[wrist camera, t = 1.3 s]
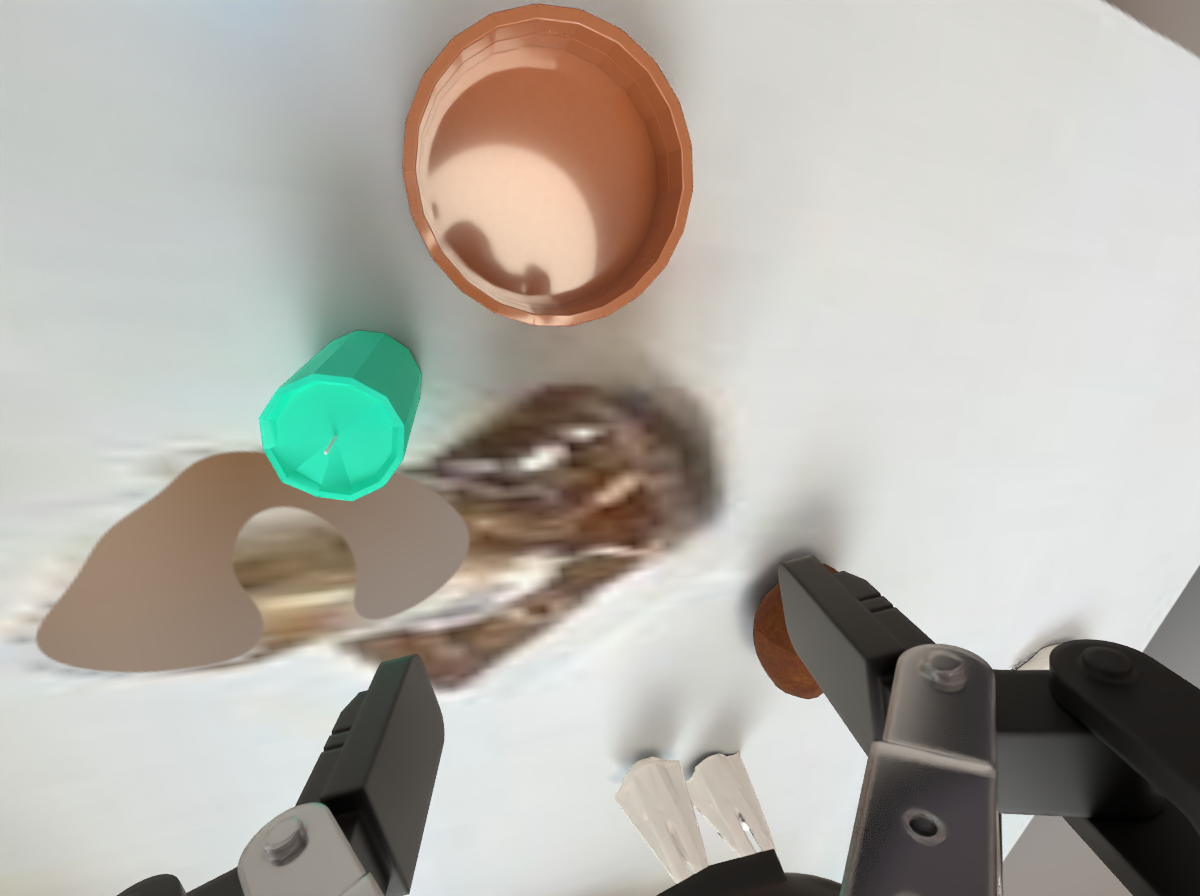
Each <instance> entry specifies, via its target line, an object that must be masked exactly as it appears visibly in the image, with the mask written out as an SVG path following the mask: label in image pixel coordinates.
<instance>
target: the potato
mask: <svg viewBox="0 0 1200 896" xmlns="http://www.w3.org/2000/svg"><path fill="white" fill-rule="evenodd" d="M823 565H824V566H825V567H826V568H827V569H828V570H829V571H830V572H831V573H832V574H833V573H837V572H838V571H836V570H835V569H833V568H832V567H830V566H828V565H826V564H823ZM753 638H754V645H755V649H756V653H757V656H758V658H759V660H760V662H761V665H762V666H763V668H764V670H765V671H766V673H767V675H768V676H769V677H770V678H771V680H772V681H773V682H774V684H775V685H776V686H777V687H778V688H779V689H781V690H782V691H784V692H785V693H788V694H791V695H794V696H797V697H800V698H804V699H812V698H817V697H818V696H820V695H821V694H822V693H823V691H822V689H821V688H820V687H819V685H818V684H817V682H816V681H815V679H814V678H813V676H812V675H811V673H810V672H809V671H808V669H807V668H806V666H805V665H804V663H803V662H802V660H801V659H800V658H799V656H798V655H797V653H796V651H795V649H794V647H793V645H792V643H791V640H790V637H789V634H788V631H787V627H786V622H785V616H784V609H783V603H782V597H781V591H780V584H779V583H778V584H777V585H776V586H775V587H774V588H773V589H772V590H771V591H770V592H769V593H768V594H767V595H766V596H765V597H764V598H763V600H762V601H761V603H760V605H759V607H758V610H757V612H756V615H755V619H754V628H753Z"/></svg>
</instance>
